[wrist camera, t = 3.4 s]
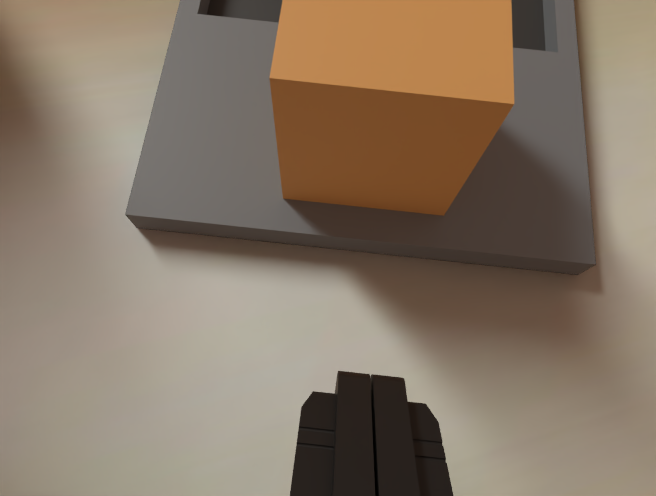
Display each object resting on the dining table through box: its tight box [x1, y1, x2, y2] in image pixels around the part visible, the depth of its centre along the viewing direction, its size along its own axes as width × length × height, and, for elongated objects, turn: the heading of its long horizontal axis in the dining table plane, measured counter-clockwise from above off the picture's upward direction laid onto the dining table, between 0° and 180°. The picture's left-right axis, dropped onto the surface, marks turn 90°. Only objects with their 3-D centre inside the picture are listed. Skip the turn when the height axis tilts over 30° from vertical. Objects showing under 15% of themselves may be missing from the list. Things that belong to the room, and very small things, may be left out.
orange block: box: [269, 0, 514, 216], centre depth 19 cm, size 7×7×8 cm
